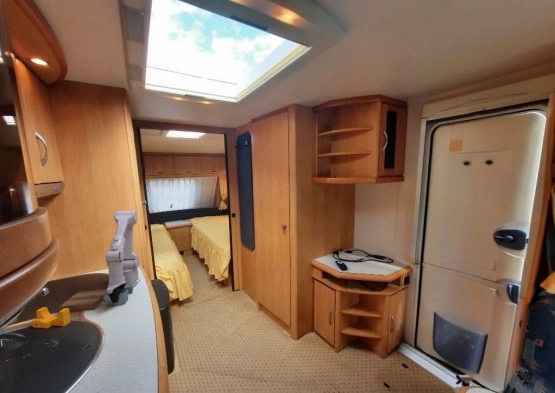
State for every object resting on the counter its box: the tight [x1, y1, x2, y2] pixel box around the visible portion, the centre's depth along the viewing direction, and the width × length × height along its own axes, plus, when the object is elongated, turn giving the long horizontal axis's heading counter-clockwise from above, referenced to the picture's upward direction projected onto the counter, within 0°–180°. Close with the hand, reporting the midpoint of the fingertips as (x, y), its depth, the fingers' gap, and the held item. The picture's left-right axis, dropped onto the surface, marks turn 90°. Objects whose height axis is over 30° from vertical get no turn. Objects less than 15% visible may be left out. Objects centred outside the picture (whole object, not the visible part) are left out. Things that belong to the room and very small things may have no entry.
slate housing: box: [103, 289, 129, 307], centre depth 111 cm, size 4×9×6 cm, turn 103°
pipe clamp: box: [31, 306, 71, 329], centre depth 94 cm, size 12×4×6 cm, turn 87°
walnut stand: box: [58, 288, 108, 313], centre depth 111 cm, size 14×14×3 cm
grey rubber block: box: [124, 284, 134, 295], centre depth 121 cm, size 4×4×4 cm
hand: (117, 299), depth 111 cm, fingers closed on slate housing, 4 cm apart
